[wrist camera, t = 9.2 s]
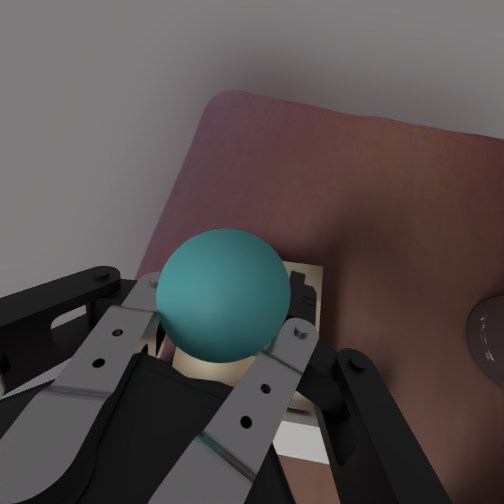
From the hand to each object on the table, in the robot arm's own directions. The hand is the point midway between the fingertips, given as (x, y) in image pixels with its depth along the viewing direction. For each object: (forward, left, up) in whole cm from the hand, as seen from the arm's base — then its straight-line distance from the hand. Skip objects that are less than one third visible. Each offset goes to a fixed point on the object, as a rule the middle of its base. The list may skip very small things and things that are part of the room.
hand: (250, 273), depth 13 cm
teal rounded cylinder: (0, +2, -5) cm, 5 cm away
